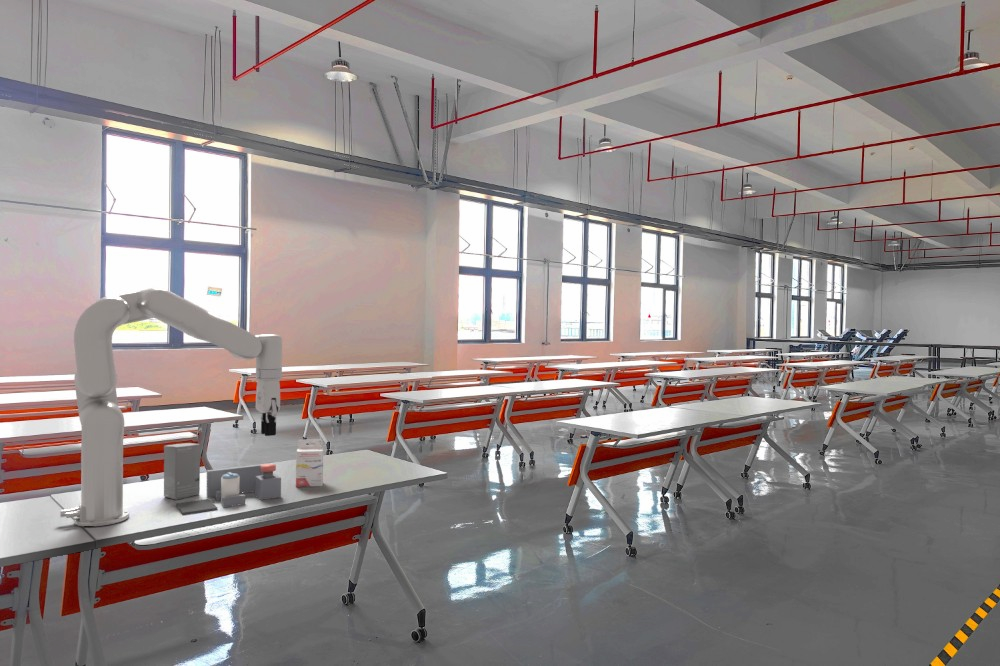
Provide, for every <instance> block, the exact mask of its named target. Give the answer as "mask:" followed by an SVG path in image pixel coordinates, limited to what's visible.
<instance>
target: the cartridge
mask: <svg viewBox="0 0 1000 666" xmlns="http://www.w3.org/2000/svg"><path fill="white" fill-rule="evenodd" d="M234 495H240V494H239V476H238V474H236V473H231V472H228V474H224V475H222V477H221V500H220V504H222V497H227V496H234Z"/></svg>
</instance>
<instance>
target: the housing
mask: <svg viewBox="0 0 1000 666" xmlns="http://www.w3.org/2000/svg"><path fill="white" fill-rule="evenodd" d="M264 464H265V463H260V464H259V463H257V464H251V465H243V466H242V465H240V466H234V467H225V468H216V469H207V470H206V498H207V499H210V497H211V498H215V500H216V501H217V502H218V501H220V502H221V477H222V475H224V474H228V472H231V473H236V474H238V476H239V493H240V494H239V495H234V496H227V497H222V503H221V506H222V508H228V507H227V506H230V507H233V506H232V505H236V506H239V505H238V504H243V505H246V495H245V493H242V492H247V493H252V492H251V491H255V493H254V495H256V496H257V497H256V496H255V497H256V498H258V499H259V500H260V499H261V500H260V501H263V499H265V500H271V499H270V498H272V499H278V498H281V497H282V477H281V476H279V475H278V474H276V473H273V478H267V479H263V472H261V465H264ZM266 464H272V463H271V462H269V463H266ZM277 497H278V498H277Z"/></svg>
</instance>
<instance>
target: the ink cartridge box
mask: <svg viewBox="0 0 1000 666" xmlns="http://www.w3.org/2000/svg"><path fill="white" fill-rule="evenodd" d="M309 443H312V444H309ZM323 443H324V440H323V439H321V438H316V439H307V438H306V439H297V449H296V458H295V459H296V461H295V463H296V464H295V465H296V466H295V468H296V469H295V471H296V472H295V487H296V488H298V487H299V488H301V487H302V486H306V487H323V483H324V482H323V481H324V448H323V447H324V444H323Z"/></svg>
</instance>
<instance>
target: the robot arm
mask: <svg viewBox="0 0 1000 666" xmlns="http://www.w3.org/2000/svg"><path fill="white" fill-rule="evenodd" d="M150 319H155V320H158V321H159V322H162V323H164V324H166V325H168V326H170V327H172V328H174V329H176V330H178V331H180V332H181V333H184V334H185V335H188V336H190V337H192V338H194V339H197V340H201V341H205V342H207V343H210V344H212V345H214V346H217V347H220V348H221V349H224V350H226V351H227V352H228V353H229V354H230V355H231V356H233V357H234V358H236V359H241V360H248V361H249V360H254V359H255V380H256V381H257V382H256V392H255V410H257V411H258V412H259V413H261V414H260V421H261V423H260V424H261V425H260V427H261V428H260V430H261V431H260V434H262V435H264V436H266V437H269V436H270V437H272V436H276V435H277V416H278V413H279V412H280V411H281V410H280V409H281V385H280V381H281V380H282V379H283V337H282V336H281V335H279V334H272V333H270V334H269V333H268V334H263V333H262V334H253V333H251V332H249V331H248V330H246V329H244V328H242V327H240V326H238V325H236V324H234V323H233V322H230V321H228V320H226V319H224V318H223V317H220V316H218V315H216V314H214V312H213V313H212V312H210V311H208V310H207V309H206V308H203V307H200V306H199V305H197V304H195V303H194V302H192V301H189V300H187V299H186V298H184V297H182V296H180V295H179V294H176V293H174V292H172V290H169V289H166V288H164V287H159V286H158V287H156V286H155V287H151V288H147V289H143V290H138V291H134V292H133V291H132V292H128V293H122V294H116V295H107V296H104V297H101V298H99V299H97V300H96V301H95V302H94V303H92V304H91V305H89V306H88V307H87V308H86V309H85V310H84V311H83V312H82V314H81V315H80V316H79V317H78V319H77V321H76V324H75V326H74V330H73V344H74V357H75V365H76V367H75V368H76V371H75V372H74V373H75V374H74V378H73V379H74V387H75V396H76V405H77V411H78V416H79V422H80V426H81V447H80V449H81V451H80V452H81V453H80V455H81V456H80V465H81V468H80V471H81V474H80V476H81V477H80V478H81V479H80V482H81V483H80V484H81V487H80V489H81V490H80V495H81V496H80V499H81V500H80V503H78V506H74V508H70V509H69V508H65V509H60V512H59V514H60V515H59V517H60V518H65V519H68V518H69V519H70V518H74V520H73V524H74V525H75V526H78V527H84V526H94V527H103V526H108V525H115V524H118V523H121V522H123V521H125V520H128V518H130V512H129V510H126V509H123V508H124V505H123V504H124V501H123V500H124V477H123V476H124V465H123V464H124V435H125V417H124V413H123V412H122V409H121V408H120V407H119V403H118V402H119V401H118V396H117V388H116V387H117V384H118V375H117V371H116V366H115V362H114V361H115V360H114V353H113V335H114V333H115V330H116V329H117V328H119V327H121V326H123V325H127V324H133V323H137V322H142V321H146V320H150Z"/></svg>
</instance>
